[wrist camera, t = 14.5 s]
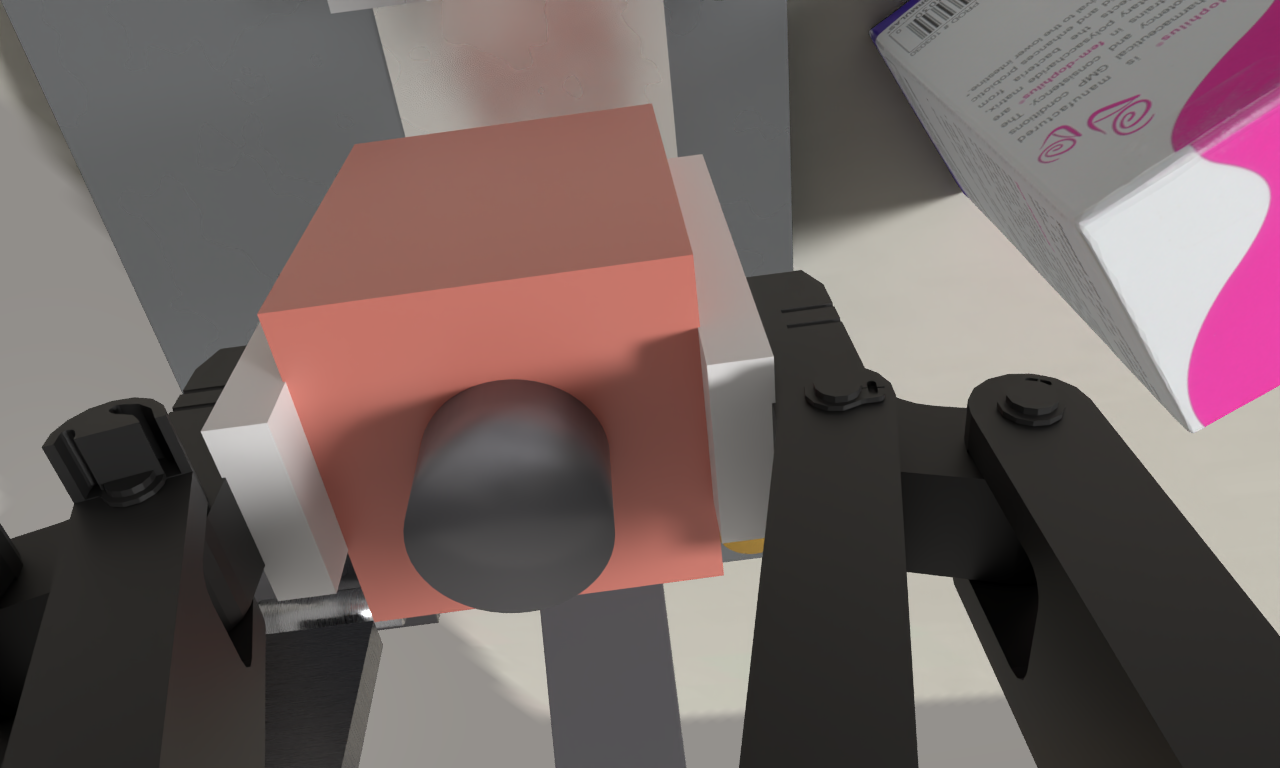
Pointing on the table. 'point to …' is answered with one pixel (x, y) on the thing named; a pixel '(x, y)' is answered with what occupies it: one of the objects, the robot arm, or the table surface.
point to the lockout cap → (503, 365)
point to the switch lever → (612, 681)
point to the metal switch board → (315, 152)
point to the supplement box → (1122, 169)
